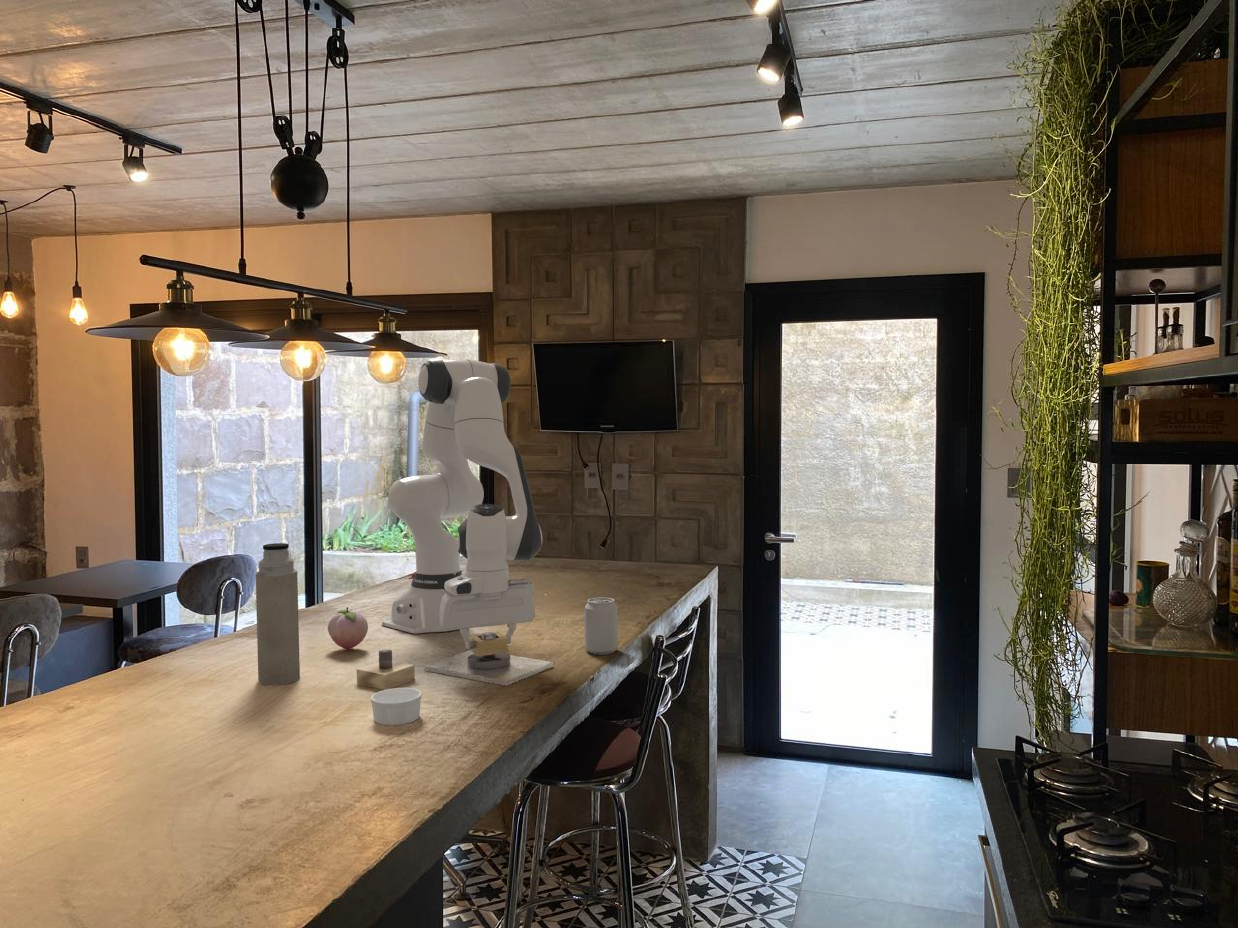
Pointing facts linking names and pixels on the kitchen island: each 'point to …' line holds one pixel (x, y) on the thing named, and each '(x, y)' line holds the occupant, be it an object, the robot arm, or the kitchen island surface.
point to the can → (601, 626)
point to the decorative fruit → (348, 629)
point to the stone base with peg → (489, 666)
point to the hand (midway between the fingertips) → (488, 646)
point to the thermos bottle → (277, 617)
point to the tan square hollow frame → (489, 644)
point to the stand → (385, 672)
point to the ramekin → (396, 706)
